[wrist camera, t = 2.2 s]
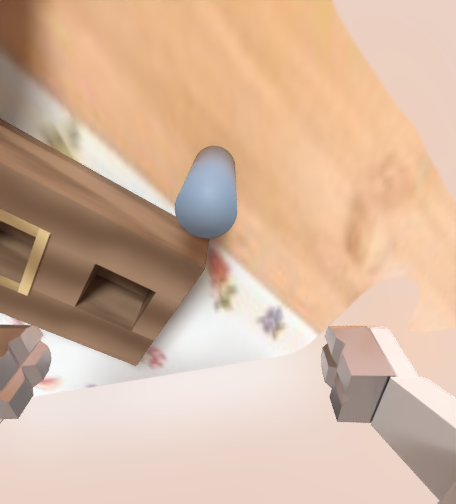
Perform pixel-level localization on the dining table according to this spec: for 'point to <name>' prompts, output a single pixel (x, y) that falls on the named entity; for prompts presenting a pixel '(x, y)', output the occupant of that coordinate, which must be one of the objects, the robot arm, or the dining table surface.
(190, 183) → the peg
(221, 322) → the dining table surface
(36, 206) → the socket block
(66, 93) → the dining table surface
